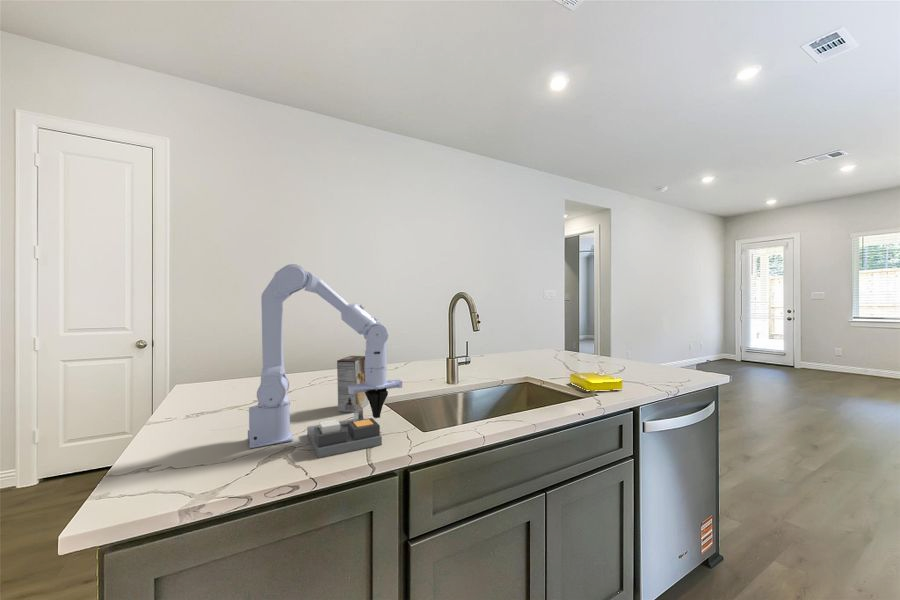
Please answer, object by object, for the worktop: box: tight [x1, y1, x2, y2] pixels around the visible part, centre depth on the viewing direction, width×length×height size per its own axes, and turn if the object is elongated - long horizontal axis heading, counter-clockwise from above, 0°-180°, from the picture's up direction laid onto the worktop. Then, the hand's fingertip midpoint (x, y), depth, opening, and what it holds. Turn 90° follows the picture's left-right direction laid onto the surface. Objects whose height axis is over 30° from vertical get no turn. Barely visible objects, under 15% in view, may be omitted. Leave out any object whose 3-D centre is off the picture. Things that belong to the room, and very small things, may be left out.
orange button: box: [353, 418, 374, 428], centre depth 91 cm, size 4×4×2 cm
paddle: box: [353, 405, 364, 421], centre depth 99 cm, size 1×4×4 cm, turn 29°
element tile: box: [569, 371, 624, 391], centre depth 145 cm, size 15×15×5 cm
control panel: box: [306, 417, 383, 459], centre depth 93 cm, size 15×16×4 cm
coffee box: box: [336, 355, 369, 413], centre depth 119 cm, size 9×6×16 cm
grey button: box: [318, 419, 340, 434], centre depth 87 cm, size 4×4×2 cm
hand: (376, 417), depth 101 cm, fingers closed
